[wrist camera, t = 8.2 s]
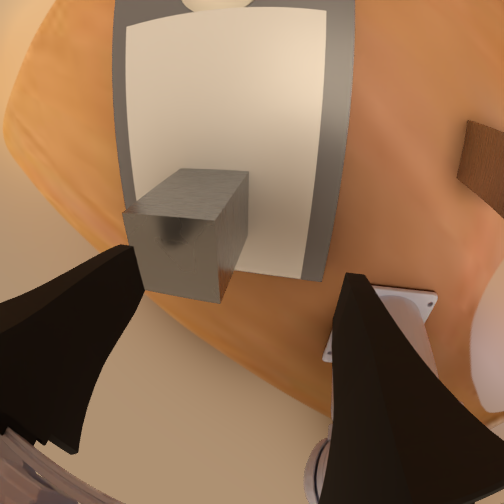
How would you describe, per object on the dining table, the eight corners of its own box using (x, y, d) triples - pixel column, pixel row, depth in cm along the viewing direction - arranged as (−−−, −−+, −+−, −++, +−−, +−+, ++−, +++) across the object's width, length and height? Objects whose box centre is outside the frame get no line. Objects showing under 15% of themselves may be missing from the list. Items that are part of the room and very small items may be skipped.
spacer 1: (247, 235, 17) (220, 303, 12) (186, 228, 17) (140, 288, 12) (248, 171, 15) (215, 220, 10) (180, 168, 15) (122, 212, 10)
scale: (321, 271, 19) (321, 287, 18) (142, 246, 21) (131, 259, 20) (350, -36, 8) (354, -48, 6) (128, -18, 10) (112, -23, 8)
